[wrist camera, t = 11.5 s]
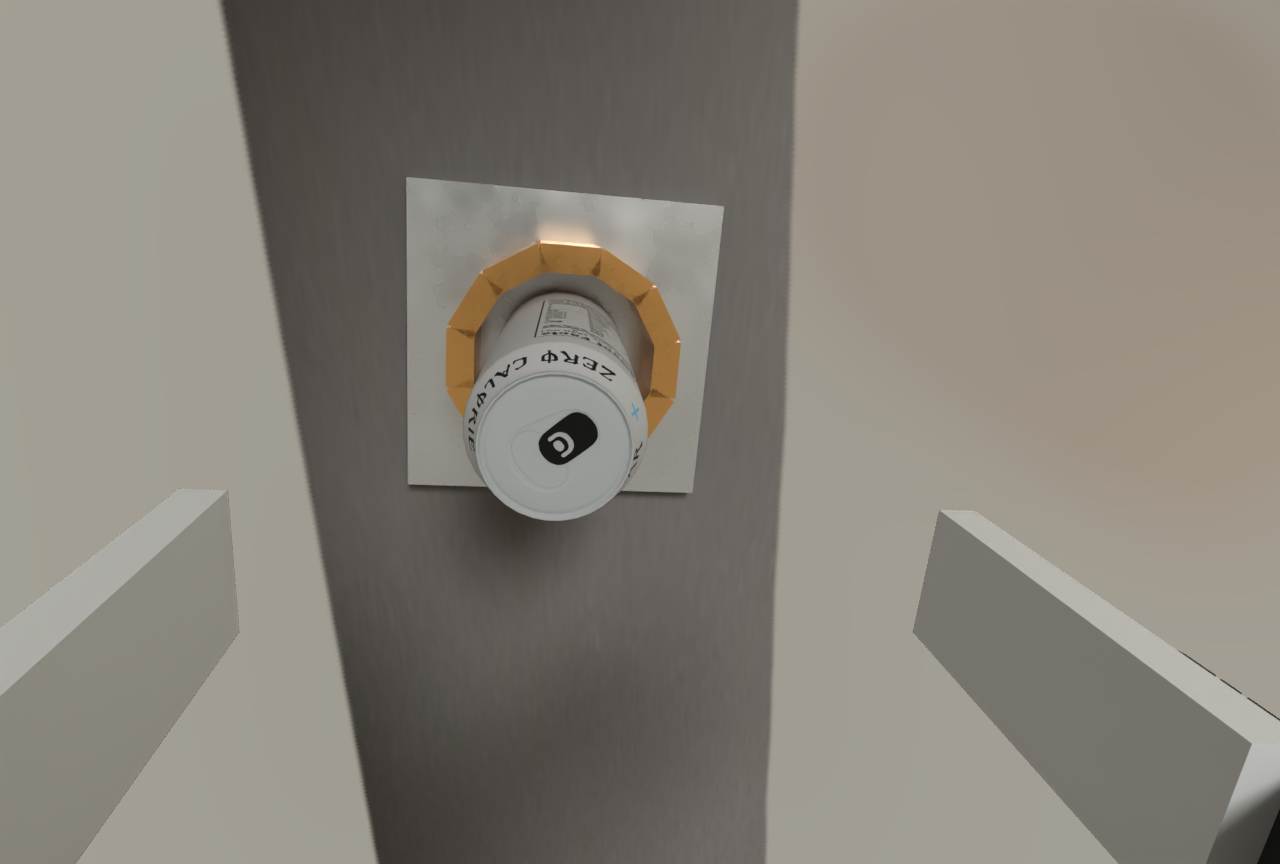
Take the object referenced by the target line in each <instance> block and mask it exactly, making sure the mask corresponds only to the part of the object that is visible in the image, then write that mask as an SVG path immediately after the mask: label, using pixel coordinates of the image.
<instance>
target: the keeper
mask: <svg viewBox="0 0 1280 864" xmlns="http://www.w3.org/2000/svg"><path fill="white" fill-rule="evenodd" d="M406 193H407V399H408V484H414V485H447V486H480V487H487V486H485V484H484V483H483V482H482V480H481V479H480V478H479V476H478V475H477V474H476V472H475V471H474V469H473V466H472V464H471V462H470V460H469V458H468V456H467V452H466V448H465V443H464V439H463V418H464V413H465V407H466V403H467V401H468V398H469V396H470V394H471V391H472V389H473V387H474V385H475V383H476V381H477V379H478V377H479V375H480V373H481V371H482V369H483V367H484V365H485V363H486V361H487V359H488V357H489V355H490V353H491V351H492V349H493V347H494V345H495V343H496V341H497V339H498V337H499V335H500V334H501V332H502V330H503V328H504V326H505V324H506V322H507V320H508V319H509V318H510V316H511V315H512V313H513V312H514V311H515V310H516V309H517V308H518V307H519V306H520V305H521V304H523V303H524V302H526V301H527V300H529V299H531V298H532V297H535V296H538V295H540V294H543V293H548V292H554V291H565V292H572V293H577V294H581V295H583V296H585V297H587V298H590V299H592V300H593V301H595V302H596V303H597V304H599V305H600V306H602V307H603V308H604V309H605V310H606V312H607V313H608V314H609V315H610V316H611V317H612V319H613V321H614V322H615V324H616V325H617V328H618V330H619V333H620V336H621V338H622V341H623V344H624V347H625V350H626V353H627V356H628V359H629V361H630V364H631V367H632V370H633V373H634V376H635V379H636V381H637V384H638V387H639V390H640V393H641V396H642V399H643V402H644V404H645V407H646V413H647V419H648V440H647V446H646V449H645V453H644V457H643V460H642V462H641V464H640V466H639V468H638V470H637V472H636V474H635V475H634V476H633V478H632V479H631V480H630V481H629V483H628V484H627V485H626V487H625V488H623V489H622V490H621V491H646V492H679V493H692V492H693V483H694V474H695V465H696V456H697V447H698V438H699V429H700V420H701V411H702V402H703V393H704V384H705V375H706V366H707V357H708V348H709V339H710V330H711V321H712V312H713V303H714V293H715V284H716V275H717V266H718V257H719V248H720V239H721V230H722V221H723V212H724V206H714V205H703V204H692V203H681V202H671V201H660V200H649V199H638V198H627V197H617V196H606V195H595V194H584V193H574V192H563V191H552V190H541V189H530V188H520V187H509V186H498V185H487V184H476V183H466V182H455V181H444V180H433V179H422V178H412V177H406Z"/></svg>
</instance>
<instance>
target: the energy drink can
mask: <svg viewBox="0 0 1280 864" xmlns="http://www.w3.org/2000/svg"><path fill="white" fill-rule="evenodd" d="M463 439H464V443H465V448H466V452H467V456H468V458H469V460H470V462H471V464H472V466H473V469H474V471H475V472H476V474H477V475H478V476H479V478H480V479H481V480H482V482H483V483H484V484H485V486H487V487H488V488H489V489H490V490H491V491H492V493H493V494H494V495H495V496H496V497H497V498H498V499H499V500H500V501H502V502H503V503H504V504H505V505H506V506H508V507H510V508H511V509H513V510H515V511H516V512H518V513H520V514H523V515H525V516H528V517H531V518H535V519H540V520H545V521H565V520H571V519H576V518H579V517H582V516H585V515H588V514H590V513H592V512H594V511H596V510H597V509H599V508H601V507H602V506H604V505H605V504H606V503H607V502H608V501H610V500H611V499H612V498H613V497H614V496H615V495H617V494H618V493H619V492H620V491H621V490H622V489H623V488H625V487H626V485H627V484H628V483H629V481H630V480H631V479H632V478H633V476H634V475H635V474H636V472H637V470H638V468H639V466H640V464H641V462H642V460H643V457H644V453H645V449H646V446H647V440H648V419H647V413H646V407H645V404H644V402H643V399H642V396H641V393H640V390H639V387H638V384H637V381H636V379H635V376H634V373H633V370H632V367H631V364H630V361H629V359H628V356H627V353H626V350H625V347H624V344H623V341H622V338H621V336H620V333H619V330H618V328H617V325H616V324H615V322H614V321H613V319H612V317H611V316H610V315H609V314H608V313H607V312H606V310H605V309H604V308H603V307H602V306H600V305H599V304H597V303H596V302H595V301H593V300H592V299H590V298H587V297H585V296H583V295H581V294H577V293H572V292H565V291H554V292H548V293H543V294H540V295H538V296H535V297H532V298H531V299H529V300H527V301H526V302H524V303H523V304H521V305H520V306H519V307H518V308H517V309H516V310H515V311H514V312H513V313H512V315H511V316H510V318H509V319H508V320H507V322H506V324H505V326H504V328H503V330H502V332H501V334H500V335H499V337H498V339H497V341H496V343H495V345H494V347H493V349H492V351H491V353H490V355H489V357H488V359H487V361H486V363H485V365H484V367H483V369H482V371H481V373H480V375H479V377H478V379H477V381H476V383H475V385H474V387H473V389H472V391H471V394H470V396H469V398H468V401H467V403H466V407H465V413H464V418H463Z"/></svg>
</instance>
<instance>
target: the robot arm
mask: <svg viewBox="0 0 1280 864" xmlns="http://www.w3.org/2000/svg"><path fill="white" fill-rule="evenodd" d="M238 633H239V621H238V609H237V597H236V584H235V572H234V560H233V547H232V535H231V523H230V511H229V499H228V490H211V489H178V490H177V491H175V492H174V493H173V494H172V495H170V496H169V497H168V498H167V499H165V500H164V501H163V502H161V503H160V504H159V505H157V506H156V507H155V508H154V509H152V510H151V511H150V512H148V513H147V514H146V515H145V516H143V517H142V518H141V519H140V520H138V521H137V522H136V523H134V524H133V525H132V526H131V527H129V528H128V529H127V530H125V531H124V532H123V533H122V534H120V535H119V536H118V537H116V538H115V539H114V540H113V541H111V542H110V543H109V544H108V545H106V546H105V547H104V548H102V549H101V550H100V551H98V552H97V553H96V554H95V555H93V556H92V557H91V558H89V559H88V560H87V561H86V562H84V563H83V564H82V565H80V566H79V567H78V568H77V569H75V570H74V571H73V572H71V573H70V574H69V575H68V576H66V577H65V578H64V579H62V580H61V581H60V582H59V583H57V584H56V585H55V586H53V587H52V588H51V589H50V590H48V591H47V592H46V593H44V594H43V595H42V596H41V597H39V598H38V599H37V600H35V601H34V602H33V603H32V604H30V605H29V606H28V607H26V608H25V609H24V610H23V611H21V612H20V613H19V614H17V615H16V616H15V617H14V618H12V619H11V620H10V621H8V622H7V623H6V624H5V625H3V626H2V627H1V628H0V864H76V862H77V861H78V860H79V858H80V857H81V856H82V854H83V853H84V851H85V850H86V848H87V847H88V846H89V844H90V843H91V841H92V840H93V839H94V837H95V836H96V834H97V833H98V831H99V830H100V828H101V827H102V826H103V824H104V823H105V822H106V820H107V819H108V817H109V816H110V814H111V813H112V812H113V810H114V809H115V807H116V806H117V804H118V803H119V802H120V800H121V799H122V797H123V796H124V795H125V793H126V792H127V790H128V789H129V788H130V786H131V785H132V783H133V782H134V780H135V779H136V778H137V776H138V775H139V773H140V772H141V771H142V769H143V768H144V766H145V765H146V763H147V762H148V761H149V759H150V758H151V756H152V755H153V753H154V752H155V751H156V749H157V748H158V746H159V745H160V744H161V742H162V741H163V739H164V738H165V737H166V735H167V734H168V732H169V731H170V729H171V728H172V727H173V725H174V724H175V722H176V721H177V720H178V718H179V717H180V715H181V714H182V712H183V711H184V710H185V708H186V707H187V705H188V704H189V703H190V701H191V700H192V698H193V697H194V696H195V694H196V693H197V691H198V690H199V688H200V687H201V685H202V684H203V683H204V681H205V680H206V679H207V677H208V676H209V674H210V673H211V671H212V670H213V669H214V667H215V666H216V664H217V663H218V661H219V660H220V659H221V657H222V656H223V654H224V653H225V652H226V650H227V649H228V647H229V646H230V645H231V643H232V642H233V640H234V639H235V637H236V636H237V635H238ZM913 633H914V634H915V635H916V636H917V637H918V639H919V640H920V641H921V642H922V643H923V644H924V645H925V646H926V648H927V649H928V650H929V651H930V652H931V653H932V654H933V655H934V657H935V658H936V659H937V660H938V661H939V662H940V663H941V664H942V665H943V667H944V668H945V669H946V670H947V671H948V672H949V673H950V674H951V676H952V677H953V678H954V679H955V680H956V681H957V682H958V684H960V686H961V687H962V688H963V689H964V690H965V691H966V692H967V694H968V695H969V696H970V697H971V698H972V699H973V700H974V702H975V703H976V704H977V705H978V706H979V707H980V708H981V709H982V711H983V712H984V713H985V714H986V715H987V716H988V717H989V718H990V719H991V721H992V722H993V723H994V724H995V725H996V726H997V727H998V729H999V730H1000V731H1001V732H1002V733H1003V734H1004V735H1005V736H1006V738H1007V739H1008V740H1009V741H1010V742H1011V743H1012V744H1013V745H1014V746H1015V748H1016V749H1017V750H1018V751H1019V752H1020V753H1021V754H1022V756H1023V757H1024V758H1025V759H1026V760H1027V761H1028V762H1029V763H1030V765H1031V766H1032V767H1033V768H1034V769H1035V770H1036V771H1037V772H1038V773H1039V775H1040V776H1041V777H1042V778H1043V779H1044V780H1045V781H1046V783H1047V784H1048V785H1049V786H1050V787H1051V788H1052V789H1053V790H1054V791H1055V793H1056V794H1057V795H1058V796H1059V797H1060V798H1061V799H1062V800H1063V802H1064V803H1065V804H1066V805H1067V806H1068V807H1069V808H1070V810H1071V811H1072V812H1073V813H1074V814H1075V815H1076V816H1077V817H1078V818H1079V820H1080V821H1081V822H1082V823H1083V824H1084V825H1085V826H1086V827H1087V829H1088V830H1089V831H1090V832H1091V833H1092V834H1093V835H1094V837H1095V838H1096V839H1097V840H1098V841H1099V842H1100V843H1101V844H1102V846H1103V847H1104V848H1105V849H1106V850H1107V851H1108V852H1109V853H1110V854H1111V856H1112V857H1113V858H1114V859H1115V860H1116V861H1117V862H1118V863H1119V864H1280V719H1279V718H1277V717H1276V716H1274V715H1273V714H1271V713H1270V712H1269V711H1267V710H1266V709H1264V708H1263V707H1261V706H1260V705H1258V704H1257V703H1255V702H1254V701H1253V700H1251V699H1250V698H1246V697H1244V696H1243V695H1242V693H1241V692H1239V691H1238V690H1237V689H1235V688H1234V687H1232V686H1231V685H1229V684H1228V683H1226V682H1225V681H1223V680H1222V679H1218V678H1216V677H1215V674H1213V673H1212V672H1210V671H1209V670H1207V669H1206V668H1204V667H1203V666H1202V665H1200V664H1199V663H1197V662H1196V661H1194V660H1193V659H1191V658H1190V657H1188V656H1187V655H1186V654H1184V653H1182V652H1180V651H1178V650H1176V649H1174V648H1173V647H1172V646H1170V645H1169V644H1167V643H1166V642H1164V641H1163V640H1161V639H1160V638H1158V637H1157V636H1155V635H1154V634H1153V633H1151V632H1150V631H1148V630H1147V629H1145V628H1144V627H1142V626H1141V625H1140V624H1138V623H1136V622H1135V621H1134V620H1132V619H1131V618H1129V617H1128V616H1127V615H1125V614H1124V613H1122V612H1121V611H1119V610H1118V609H1116V608H1115V607H1113V606H1112V605H1111V604H1109V603H1108V602H1106V601H1105V600H1103V599H1102V598H1100V597H1099V596H1097V595H1096V594H1095V593H1093V592H1092V591H1090V590H1089V589H1087V588H1086V587H1084V586H1083V585H1081V584H1080V583H1079V582H1077V581H1076V580H1074V579H1073V578H1071V577H1070V576H1068V575H1067V574H1066V573H1064V572H1063V571H1061V570H1059V569H1058V568H1057V567H1055V566H1054V565H1052V564H1051V563H1050V562H1048V561H1047V560H1045V559H1044V558H1042V557H1041V556H1039V555H1038V554H1036V553H1035V552H1034V551H1032V550H1031V549H1029V548H1028V547H1026V546H1025V545H1023V544H1022V543H1020V542H1019V541H1018V540H1016V539H1015V538H1013V537H1012V536H1010V535H1009V534H1007V533H1006V532H1005V531H1003V530H1002V529H1000V528H999V527H997V526H996V525H994V524H993V523H991V522H990V521H989V520H987V519H986V518H984V517H983V516H981V515H980V514H978V513H977V512H975V511H960V510H939V514H938V518H937V522H936V527H935V532H934V537H933V541H932V546H931V550H930V555H929V559H928V564H927V569H926V573H925V578H924V583H923V587H922V592H921V596H920V601H919V605H918V610H917V615H916V620H915V624H914V629H913Z"/></svg>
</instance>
